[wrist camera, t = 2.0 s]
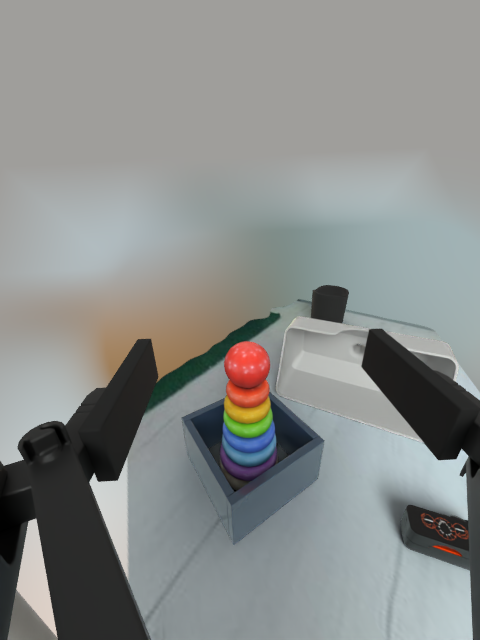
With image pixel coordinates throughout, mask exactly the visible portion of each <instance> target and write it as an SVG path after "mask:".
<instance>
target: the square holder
mask: <svg viewBox="0 0 480 640" xmlns="http://www.w3.org/2000/svg"><path fill="white" fill-rule="evenodd" d="M268 396H269V398H270V402H271V406H270V408H271V410H272V414H273V422H274V425H275V435H276V442H277V443H278V444H279V445H280V446H281V447H282V449H283V450H284V451H285V452H286V453H287V454H288V455H289V456H288V457H286V458H285V459H283V460H282V461H280V462H279V463H277V464H276V465H274V466H273V467H272V468H270V469H269V470H267V471H266V472H264V473H263V474H261V475H260V476H258V477H257V478H255V479H254V480H252V481H251V482H249V483H248V484H246V485H245V486H243V487H242V488H240V489H239V490H237V491H236V492H234V491H233V489H232V487H231V486H230V484H229V482H228V481H227V479H226V477H225V476H224V474H223V472H222V471H221V469H220V467H219V466H218V464H217V463H216V461H215V459H214V458H213V456H212V454H211V453H210V451H209V449H208V448H210V447H212V446H214V445H215V444H217V443H219V442H221V441H222V435H223V423H224V418H223V415H224V410H225V408H224V400H225V398H224V399H222V400H220V401H217V402H215V403H213V404H211V405H209V406H206V407H204V408H202V409H200V410H197V411H195V412H193V413H191V414H189V415H186V416H184V417H182V425H183V431H184V438H185V444H186V450H187V455H188V457H189V458H190V461H191V463H192V465H193V467H194V468H195V470H196V472H197V474H198V476H199V478H200V480H201V482H202V484H203V486H204V488H205V490H206V492H207V494H208V496H209V498H210V500H211V502H212V504H213V506H214V508H215V510H216V512H217V514H218V516H219V518H220V520H221V522H222V524H223V526H224V527H225V529H226V531H227V533H228V535H229V536H230V539H231V541H232V543H233V545H235V544H236V543H237V542H238V541H240V540H241V539H242V538H244V537H245V536H246V535H247V534H249V533H250V532H251V531H252V530H254V529H255V528H256V527H257V526H259V525H260V524H261V523H263V522H264V521H265V520H266V519H268V518H269V517H270V516H271V515H273V514H274V513H275V512H276V511H278V510H279V509H280V508H281V507H283V506H284V505H285V504H287V503H288V502H289V501H290V500H292V499H293V498H294V497H295V496H297V495H298V494H299V493H300V492H302V491H303V490H304V489H306V488H307V487H308V486H309V485H311V484H312V483H313V482H314V481H316V480H317V479H318V475H319V469H320V464H321V458H322V452H323V446H324V440H323V439H322V438H321V437H320V436H318V434H316V433H315V432H314V431H313V430H312V429H311V428H310V427H309V426H307V425H306V424H305V423H304V422H303V421H302V420H301V419H300V418H298V417H297V416H296V415H295V414H294V413H293V412H292V411H291V410H289V409H288V408H287V407H286V406H285V405H284V404H283V403H282V402H280V401H279V400H278V399H277V398H276V397H275V396H274V395H273V394H271V393H270V392H269V395H268Z"/></svg>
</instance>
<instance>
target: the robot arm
mask: <svg viewBox="0 0 480 640" xmlns="http://www.w3.org/2000/svg"><path fill="white" fill-rule="evenodd" d="M361 367H362V368H363V370H364V371H365V372H366V373H367V375H368V376H369V377H370V378H371V379H372V381H373V382H374V383H375V384H376V385H377V387H378V388H379V389H380V390H381V391H382V393H383V394H384V395H385V396H386V397H387V399H388V400H389V401H390V402H391V404H392V405H393V406H394V407H395V408H396V410H397V411H398V412H399V413H400V414H401V416H402V417H403V418H404V419H405V420H406V422H407V423H408V424H409V425H410V427H411V428H412V429H413V430H414V431H415V433H416V434H417V435H418V436H419V437H420V439H421V440H422V441H423V442H424V443H425V445H426V446H427V447H428V448H429V449H430V451H431V452H432V453H433V454H434V456H435V457H436V458H437V459H438V460H450V459H457V457H458V454H459V452H460V450H461V448H462V449H463V450H464V452H465V453H466V454H467V455H468V456H469V457H468V459H467V461H466V463H465V465H464V466H463V468H462V470H461V473H460V476H462V477H463V476H464V474H465V473H466V477H467V502H468V527H469V552H470V577H471V602H472V627H473V640H480V400H478V399H477V398H476V397H474V396H473V395H472V394H471V393H469V392H468V391H466V390H465V389H464V388H463V387H462V386H460V385H458V383H456V382H455V381H454V380H453V379H451V378H450V377H449V376H447V375H445V374H443V373H441V372H439V371H437V370H432V369H431V368H430V367H429V366H427V365H426V364H425V363H424V362H422V361H421V360H420V359H419V358H417V357H416V356H415V355H414V354H412V353H411V352H410V351H409V350H407V349H406V348H405V347H404V346H402V345H401V344H400V343H399V342H397V341H396V340H395V339H394V338H393V337H391V336H390V335H389V334H388V333H386V332H385V331H384V330H383V329H369V332H368V337H367V342H366V346H365V351H364V356H363V361H362V365H361ZM157 379H158V373H157V367H156V362H155V357H154V352H153V347H152V342H151V339H138V340H137V341H136V343H135V344H134V346H133V348H132V349H131V351H130V352H129V354H128V355H127V357H126V358H125V360H124V361H123V363H122V364H121V366H120V367H119V369H118V371H117V372H116V374H115V375H114V377H113V378H112V380H111V381H110V383H109V384H108V386H107V387H106V388H96V389H95V390H94V391H92V392H91V393H90V394H89V395H87V396H86V398H85V399H84V401H83V402H82V403H81V406H79V408H78V409H77V410H76V413H74V414H73V416H72V417H71V419H70V420H69V421H68V423H67V424H66V425H64V424H63V423H62V422H58V421H52V422H47V423H44V424H41V425H39V426H37V427H35V428H33V429H31V430H30V431H29V432H28V433H26V434H25V435H24V436H23V437H22V439H21V440H20V441H19V444H18V450H19V451H20V453H21V455H22V457H23V459H24V460H22V461H18V462H15V463H12V464H9V465H5V466H3V464H2V463H1V462H0V640H7V638H8V632H9V626H10V621H11V615H12V610H13V604H14V598H15V593H16V587H17V582H18V576H19V570H20V565H21V559H22V554H23V548H24V542H25V537H26V531H27V526H28V521H30V520H33V519H35V518H37V523H38V529H39V535H40V540H41V546H42V552H43V557H44V563H45V569H46V574H47V580H48V586H49V591H50V597H51V603H52V608H53V613H54V620H55V625H56V630H57V637H58V640H151V638H150V636H149V633H148V631H147V628H146V626H145V623H144V621H143V618H142V616H141V613H140V610H139V608H138V605H137V603H136V600H135V598H134V595H133V593H132V590H131V588H130V585H129V583H128V580H127V577H126V575H125V572H124V570H123V567H122V565H121V562H120V560H119V557H118V555H117V552H116V549H115V547H114V545H113V542H112V539H111V537H110V535H109V532H108V529H107V527H106V524H105V522H104V519H103V516H102V514H101V511H100V509H99V506H98V504H97V501H96V499H95V496H94V494H93V491H92V489H91V486H90V484H89V481H90V479H91V478H92V476H93V474H94V473H95V475H96V477H97V480H98V481H99V482H101V481H116V480H118V478H119V476H120V473H121V471H122V468H123V466H124V463H125V461H126V458H127V455H128V453H129V450H130V448H131V445H132V443H133V440H134V438H135V435H136V433H137V430H138V427H139V425H140V422H141V420H142V417H143V415H144V412H145V410H146V407H147V405H148V402H149V399H150V397H151V394H152V392H153V389H154V387H155V384H156V382H157Z"/></svg>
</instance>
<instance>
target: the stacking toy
mask: <svg viewBox="0 0 480 640" xmlns="http://www.w3.org/2000/svg"><path fill="white" fill-rule="evenodd" d="M224 367H225V372H226V374H227V376H228V378H229V379H230V380H229V381H228V383H227V386H226V393H227V395H226V397H225V400H224V408H225V410H224V415H223V418H224V423H223V435H222V443H221V447H220V461H219V465H220V469H221V471H222V472H223V474H224V476H225V477H226V479H227V481H228V482H229V484H230V486H231V487H232V488H234V489H236V490H239V489H240V488H242V487H243V486H245V485H246V484H248V483H249V482H251V481H252V480H254V479H255V478H257V477H258V476H260V475H261V474H263V473H264V472H266V471H267V470H269V469H270V468H272V467H273V466H274V465H276V464H277V463H279V459H278V455H277V448H276V435H275V425H274V422H273V414H272V410H271V408H270V406H271V402H270V398H269V396H268V395H269V384H268V382H267V381H266V377H267V376H268V373H269V370H270V359H269V356H268V354H267V352H266V351H265V349H264V348H263V347H261V346H260V345H258V344H256V343H253V342H241V343H238V344H236V345H234V346H233V347H232V348H231V349H230V350H229V351H228V353H227V355H226V357H225V361H224Z"/></svg>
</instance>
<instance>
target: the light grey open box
mask: <svg viewBox="0 0 480 640" xmlns="http://www.w3.org/2000/svg"><path fill="white" fill-rule="evenodd" d="M369 329H370V328H364V327H358V326H353V325H347V324H341V323H336V322H330V321H324V320H318V319H313V318H307V317H301V316H299V317H296V318H295V319H294V320H293V321H292V323H291V324H290V325H289V327H288V328H287V329H286V331H285V334H284V340H283V346H282V352H281V358H280V364H279V370H278V376H277V382H276V392H277V393H278V395H279V396H281V397H283V398H286V399H289V400H292V401H296V402H299V403H302V404H305V405H308V406H311V407H314V408H317V409H320V410H323V411H326V412H330V413H333V414H336V415H339V416H342V417H345V418H348V419H351V420H354V421H357V422H360V423H364V424H367V425H370V426H373V427H376V428H379V429H382V430H385V431H388V432H391V433H394V434H398V435H401V436H404V437H407V438H410V439H413V440H416V441H419V442H422V443H424V442H423V441H422V440H421V439H420V437H419V436H418V435H417V434H416V433H415V431H414V430H413V429H412V428H411V427H410V425H409V424H408V423H407V422H406V420H405V419H404V418H403V417H402V416H401V414H400V413H399V412H398V411H397V410H396V408H395V407H394V406H393V405H392V404H391V402H390V401H389V400H388V399H387V397H386V396H385V395H384V394H383V393H382V391H381V390H380V389H379V388H378V387H377V385H376V384H375V383H374V382H373V381H372V379H371V378H370V377H369V376H368V375H367V373H366V372H365V371H364V370H363V368H362V367H361V365H362V361H363V356H364V351H365V346H366V342H367V337H368V332H369ZM385 332H386V333H388V334H389V335H390V336H391V337H393V338H394V339H395V340H396V341H397V342H399V343H400V344H401V345H402V346H404V347H405V348H406V349H407V350H409V351H410V352H411V353H412V354H414V355H415V356H416V357H417V358H419V359H420V360H421V361H422V362H424V363H425V364H426V365H427V366H429V367H430V368H431V369H432V370H437V371H439V372H441V373H443V374H445V375H447V376H449V377H450V378H451V379H453V380H454V381H455V382H456V378H457V375H458V371H459V365H458V362H457V360H456V358H455V356H454V353H453V351H452V349H451V347H450V345H449V344H447V343H446V342H443V341H438V340H432V339H427V338H421V337H415V336H409V335H404V334H398V333H392V332H387V331H385ZM358 344H362V345H358Z"/></svg>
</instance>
